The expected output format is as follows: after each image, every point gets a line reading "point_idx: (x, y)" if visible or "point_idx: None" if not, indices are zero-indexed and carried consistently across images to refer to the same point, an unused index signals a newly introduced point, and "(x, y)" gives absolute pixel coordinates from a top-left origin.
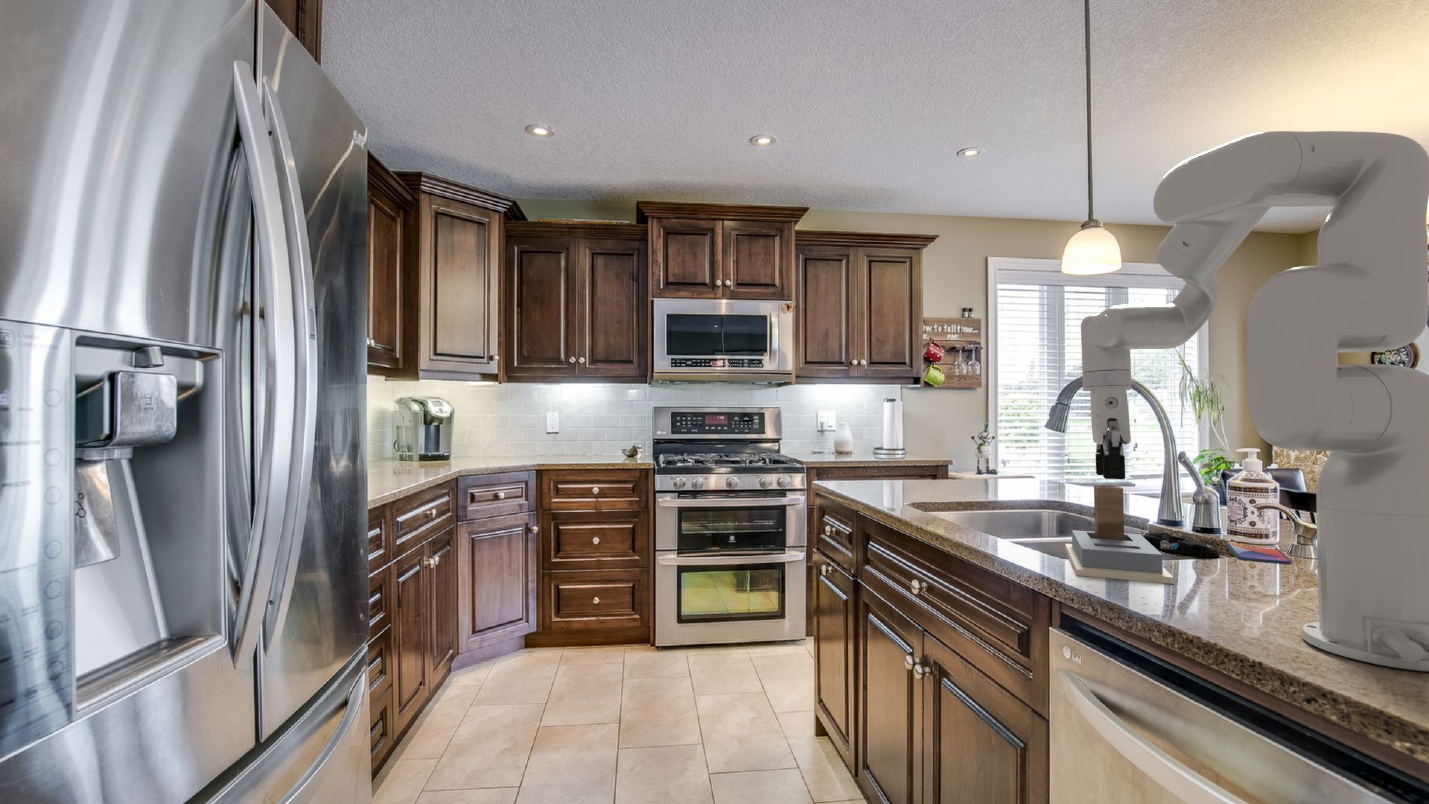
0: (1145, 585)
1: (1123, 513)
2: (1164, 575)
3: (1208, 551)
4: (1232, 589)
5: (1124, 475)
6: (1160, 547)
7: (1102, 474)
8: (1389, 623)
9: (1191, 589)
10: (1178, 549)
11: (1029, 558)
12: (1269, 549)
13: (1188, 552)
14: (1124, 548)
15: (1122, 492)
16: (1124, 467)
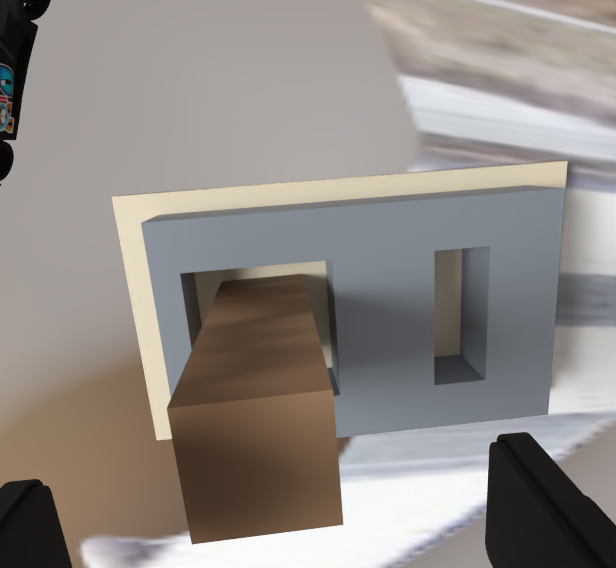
0: (595, 235)
1: (315, 327)
2: (549, 183)
3: None
4: (568, 2)
5: (539, 449)
6: (10, 133)
7: (70, 564)
8: None
9: (604, 122)
10: (15, 67)
11: (368, 502)
12: None
13: (33, 34)
14: (495, 297)
15: (329, 380)
16: (581, 499)
